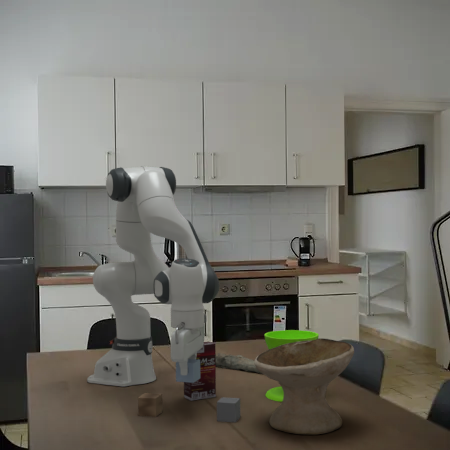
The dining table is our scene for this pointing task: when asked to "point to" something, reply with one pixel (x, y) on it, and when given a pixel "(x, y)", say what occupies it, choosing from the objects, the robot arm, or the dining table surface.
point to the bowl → (305, 383)
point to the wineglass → (281, 338)
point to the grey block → (228, 409)
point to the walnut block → (150, 405)
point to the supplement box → (203, 375)
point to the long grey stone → (235, 362)
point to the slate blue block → (193, 371)
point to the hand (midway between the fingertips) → (188, 371)
